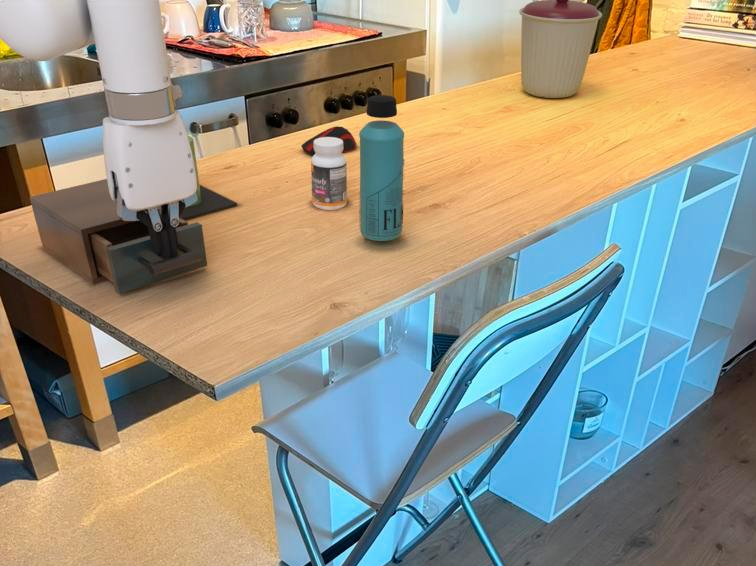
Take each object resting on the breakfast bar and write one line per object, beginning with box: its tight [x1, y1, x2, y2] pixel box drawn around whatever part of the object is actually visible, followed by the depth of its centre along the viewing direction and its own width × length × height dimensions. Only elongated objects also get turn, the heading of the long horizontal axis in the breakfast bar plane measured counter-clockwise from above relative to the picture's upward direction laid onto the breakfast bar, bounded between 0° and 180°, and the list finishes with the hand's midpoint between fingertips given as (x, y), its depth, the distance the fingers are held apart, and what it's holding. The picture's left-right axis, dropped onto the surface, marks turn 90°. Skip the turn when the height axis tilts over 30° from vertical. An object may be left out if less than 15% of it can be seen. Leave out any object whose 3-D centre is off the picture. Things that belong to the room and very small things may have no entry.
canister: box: [518, 0, 603, 99], centre depth 183 cm, size 18×18×21 cm
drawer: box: [88, 215, 208, 294], centre depth 110 cm, size 19×13×6 cm
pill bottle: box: [310, 137, 348, 211], centre depth 130 cm, size 6×6×10 cm
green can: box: [188, 135, 201, 207], centre depth 129 cm, size 5×5×10 cm
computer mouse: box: [300, 126, 357, 157], centre depth 153 cm, size 6×11×4 cm, turn 133°
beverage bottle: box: [358, 94, 406, 242], centre depth 115 cm, size 6×7×20 cm
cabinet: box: [29, 178, 182, 285], centre depth 115 cm, size 16×15×8 cm
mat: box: [181, 184, 238, 221], centre depth 132 cm, size 12×12×1 cm
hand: (166, 256), depth 106 cm, fingers closed
